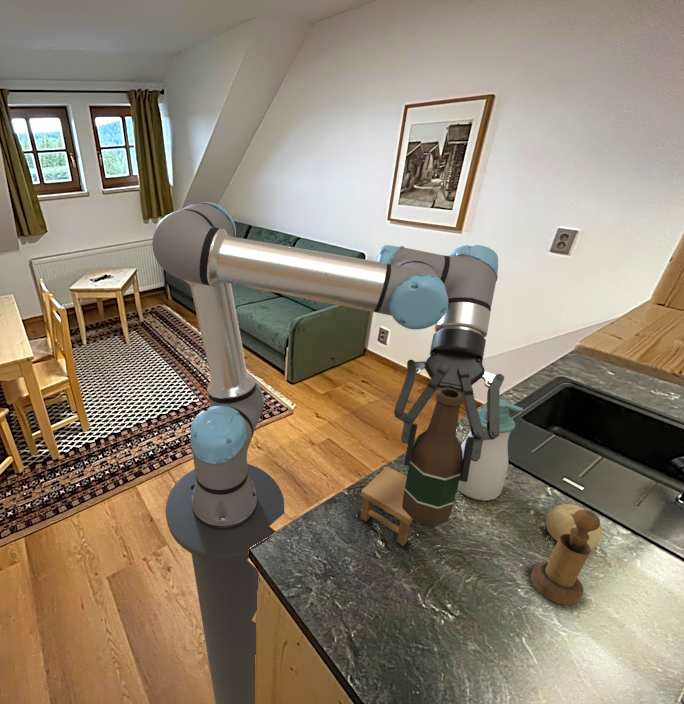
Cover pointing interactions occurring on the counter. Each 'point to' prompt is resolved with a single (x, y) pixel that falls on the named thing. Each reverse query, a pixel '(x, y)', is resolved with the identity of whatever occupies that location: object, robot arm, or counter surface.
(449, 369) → the robot arm
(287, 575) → the counter surface
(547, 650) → the counter surface
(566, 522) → the onion
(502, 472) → the soap bottle
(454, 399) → the beer bottle
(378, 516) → the stool
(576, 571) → the mortar and pestle
